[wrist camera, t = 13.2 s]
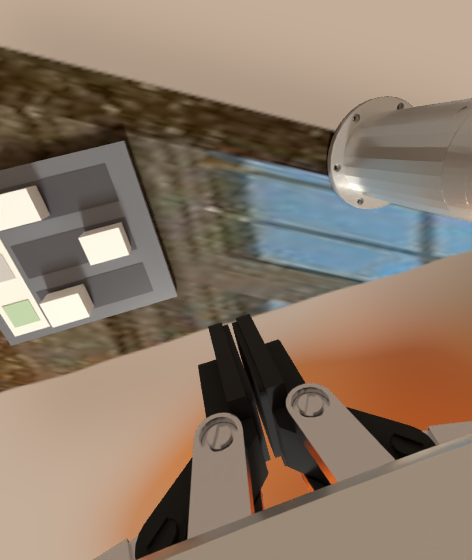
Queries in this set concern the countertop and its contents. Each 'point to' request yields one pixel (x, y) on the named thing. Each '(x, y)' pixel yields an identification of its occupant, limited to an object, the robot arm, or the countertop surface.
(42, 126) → the countertop surface
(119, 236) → the tab
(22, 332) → the switch panel
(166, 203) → the countertop surface
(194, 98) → the countertop surface
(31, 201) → the tab
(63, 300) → the tab
